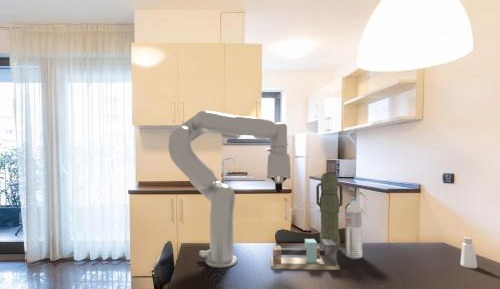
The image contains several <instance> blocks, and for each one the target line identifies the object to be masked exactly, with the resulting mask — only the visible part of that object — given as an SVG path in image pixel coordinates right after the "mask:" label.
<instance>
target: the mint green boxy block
mask: <svg viewBox="0 0 500 289" xmlns="http://www.w3.org/2000/svg"><path fill="white" fill-rule="evenodd" d="M317 245H318V242H317V241H316V240H315V238H304V248H306V255H304V258H305V260H306V262H317Z"/></svg>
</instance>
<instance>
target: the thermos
mask: <svg viewBox="0 0 500 289" xmlns="http://www.w3.org/2000/svg"><path fill="white" fill-rule="evenodd" d="M315 186H316V187H315V189H316V190H315V192H316V193H315V194H316V195H315V196H316V205H317V206H318V207H319V212H320V232H319V244H320V246H319V248H320V249H322V239H332V241H333V242H334V243H335V244H336V253H338V252H340V245H341V237H340V236H341V235H340V233H339V232H340V231H339V212H340V207H343V205H344V203H343V202H344V200H343V199H344V198H343V185H342V184H341V183H339V182H338V177H337V174H336V173H334V172H325V173H322V174H321V178H320V183H318V184H317V185H315ZM320 190H321V191H320ZM338 190H339V194H338Z"/></svg>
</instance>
